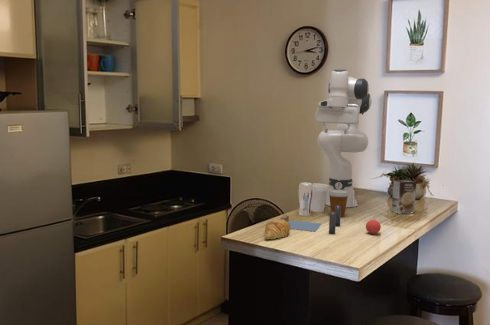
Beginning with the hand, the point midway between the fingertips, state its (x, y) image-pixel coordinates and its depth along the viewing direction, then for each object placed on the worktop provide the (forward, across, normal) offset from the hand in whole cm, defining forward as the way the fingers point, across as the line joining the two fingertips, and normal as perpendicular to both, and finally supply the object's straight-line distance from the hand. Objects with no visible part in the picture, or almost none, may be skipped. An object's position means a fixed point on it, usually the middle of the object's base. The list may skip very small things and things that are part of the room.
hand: (335, 133), depth 241 cm
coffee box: (+37, -32, -24) cm, 55 cm away
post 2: (+41, -6, +15) cm, 44 cm away
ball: (+39, -22, +22) cm, 50 cm away
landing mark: (+42, +8, +22) cm, 48 cm away
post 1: (+43, -6, +28) cm, 51 cm away
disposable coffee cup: (+39, -3, -4) cm, 40 cm away
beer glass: (+40, +12, 0) cm, 42 cm away
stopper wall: (+42, +17, +22) cm, 50 cm away
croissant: (+44, +15, +39) cm, 61 cm away
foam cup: (+39, +8, -10) cm, 41 cm away
